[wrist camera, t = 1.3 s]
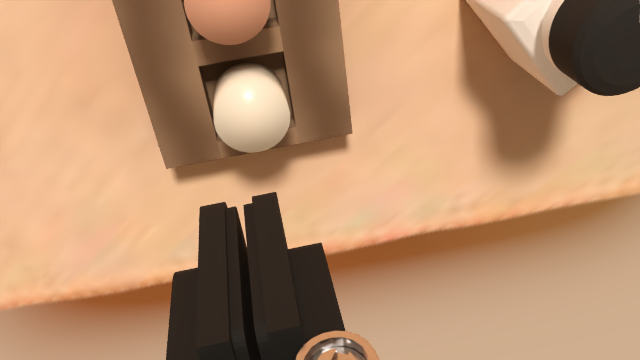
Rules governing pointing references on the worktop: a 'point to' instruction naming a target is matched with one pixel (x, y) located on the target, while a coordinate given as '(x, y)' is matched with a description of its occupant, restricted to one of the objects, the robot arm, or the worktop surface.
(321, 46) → the button board
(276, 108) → the cream egg
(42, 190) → the worktop surface
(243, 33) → the peach rounded dome
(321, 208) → the worktop surface
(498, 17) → the medicine bottle
